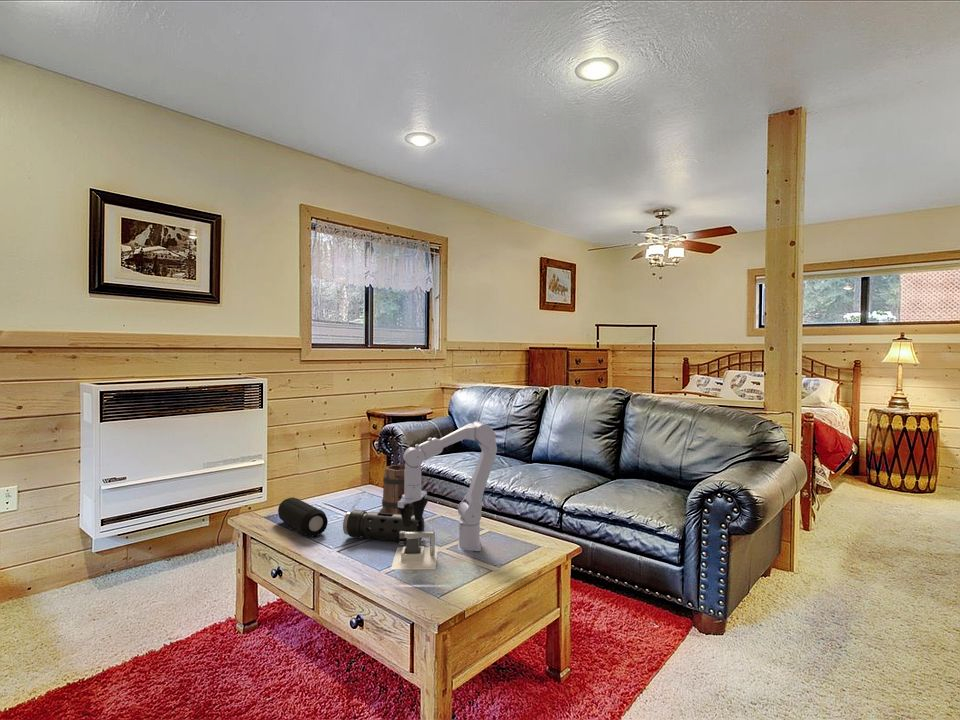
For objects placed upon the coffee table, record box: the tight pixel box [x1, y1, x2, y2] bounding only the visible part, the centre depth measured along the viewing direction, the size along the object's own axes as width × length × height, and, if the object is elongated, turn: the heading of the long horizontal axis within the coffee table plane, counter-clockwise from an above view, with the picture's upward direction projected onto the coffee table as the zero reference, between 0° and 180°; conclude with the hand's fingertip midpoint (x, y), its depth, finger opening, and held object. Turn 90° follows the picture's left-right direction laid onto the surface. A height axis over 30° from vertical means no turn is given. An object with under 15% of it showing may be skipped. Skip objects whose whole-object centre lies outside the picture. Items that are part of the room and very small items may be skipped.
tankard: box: [379, 464, 415, 515], centre depth 216 cm, size 24×17×20 cm
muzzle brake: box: [342, 509, 425, 543], centre depth 189 cm, size 10×28×10 cm, turn 78°
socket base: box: [390, 545, 439, 571], centre depth 173 cm, size 18×14×3 cm
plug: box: [398, 538, 420, 554], centre depth 174 cm, size 4×7×6 cm, turn 92°
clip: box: [399, 531, 436, 556], centre depth 174 cm, size 2×12×8 cm, turn 92°
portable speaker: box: [277, 496, 329, 537], centre depth 201 cm, size 26×10×10 cm, turn 44°
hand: (412, 523), depth 177 cm, fingers open, 6 cm apart
